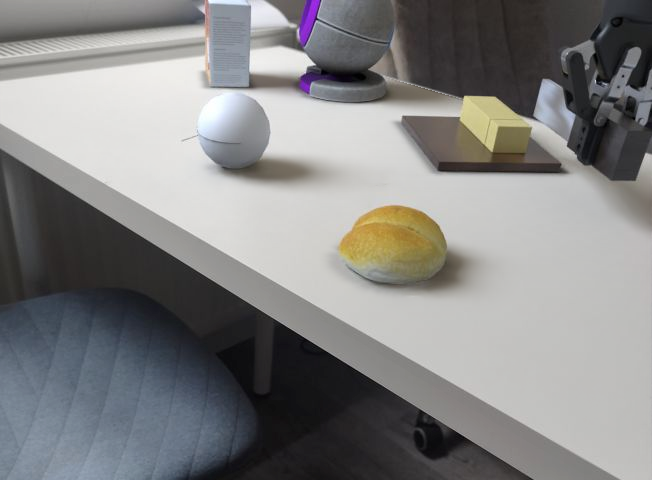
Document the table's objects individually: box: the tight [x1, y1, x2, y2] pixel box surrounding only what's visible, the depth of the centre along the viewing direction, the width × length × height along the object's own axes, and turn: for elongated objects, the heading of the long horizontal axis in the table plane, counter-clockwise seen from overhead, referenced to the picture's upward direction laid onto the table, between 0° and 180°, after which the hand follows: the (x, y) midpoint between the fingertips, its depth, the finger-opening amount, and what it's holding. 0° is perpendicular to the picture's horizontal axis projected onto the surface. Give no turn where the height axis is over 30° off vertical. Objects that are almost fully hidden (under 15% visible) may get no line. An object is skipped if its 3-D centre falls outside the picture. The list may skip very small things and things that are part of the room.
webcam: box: [298, 0, 396, 103], centre depth 94 cm, size 13×13×15 cm
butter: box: [459, 95, 524, 145], centre depth 82 cm, size 4×9×3 cm, turn 8°
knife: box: [532, 78, 652, 182], centre depth 68 cm, size 19×2×4 cm, turn 8°
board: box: [400, 115, 563, 173], centre depth 82 cm, size 14×16×1 cm
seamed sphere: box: [180, 91, 272, 170], centre depth 69 cm, size 10×7×7 cm
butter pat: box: [485, 119, 533, 153], centre depth 78 cm, size 4×2×3 cm, turn 98°
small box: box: [204, 0, 252, 88], centre depth 96 cm, size 8×6×10 cm
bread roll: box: [338, 204, 448, 285], centre depth 56 cm, size 8×9×4 cm
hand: (599, 162), depth 66 cm, fingers closed on knife, 2 cm apart
